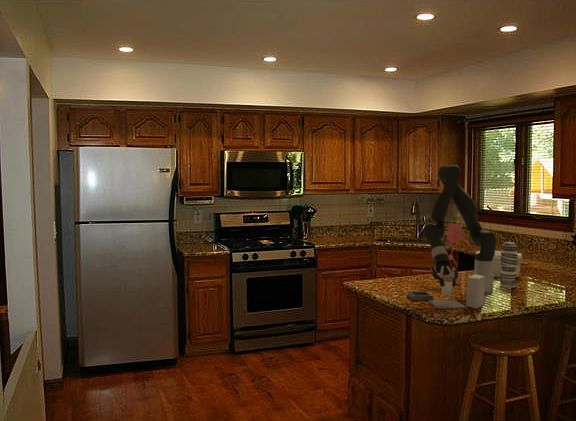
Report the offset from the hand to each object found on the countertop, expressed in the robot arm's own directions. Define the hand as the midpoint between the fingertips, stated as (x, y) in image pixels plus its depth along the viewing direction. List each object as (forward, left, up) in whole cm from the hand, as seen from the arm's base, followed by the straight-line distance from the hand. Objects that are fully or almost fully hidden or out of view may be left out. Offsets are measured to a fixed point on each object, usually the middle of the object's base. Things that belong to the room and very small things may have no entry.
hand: (448, 285), depth 261 cm
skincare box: (-13, +1, -10) cm, 17 cm away
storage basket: (-61, -72, -10) cm, 95 cm away
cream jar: (0, -2, -5) cm, 5 cm away
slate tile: (0, -2, -10) cm, 10 cm away
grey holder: (+9, -15, -10) cm, 20 cm away
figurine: (-24, -54, -10) cm, 60 cm away
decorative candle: (-52, -43, -10) cm, 68 cm away
